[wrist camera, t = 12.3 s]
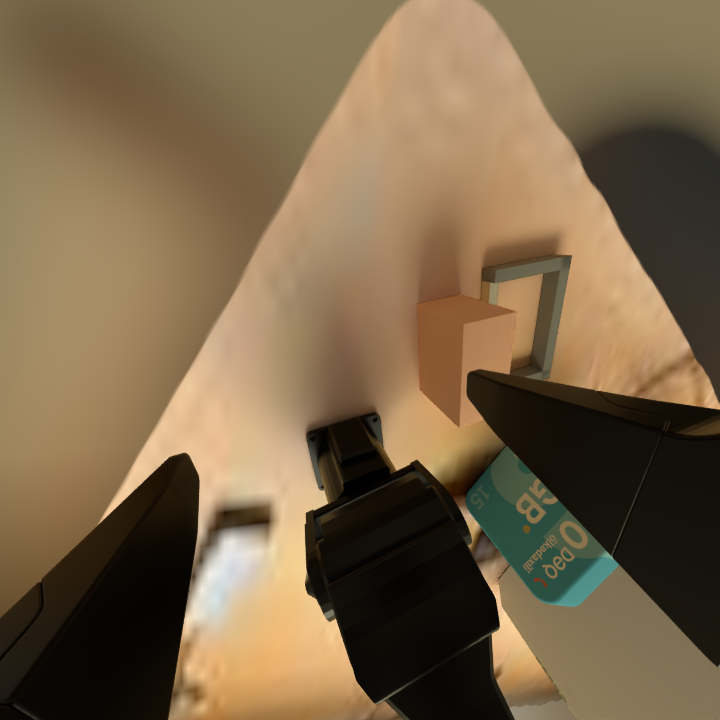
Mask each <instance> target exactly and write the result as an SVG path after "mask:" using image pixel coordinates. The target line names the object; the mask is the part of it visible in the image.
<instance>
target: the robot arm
mask: <svg viewBox="0 0 720 720" xmlns="http://www.w3.org/2000/svg"><path fill="white" fill-rule="evenodd" d="M466 394H467V397H468V399H469V400H470V402H471V403H472V404H473V406H474V407H475V408H476V410H477V411H478V412H479V413H480V415H481V416H482V417H483V419H484V420H485V421H486V422H487V424H488V425H489V426H490V428H491V429H492V430H493V431H494V432H495V434H496V435H497V436H498V437H499V438H500V439H501V440H502V441H503V442H504V443H505V444H506V445H507V446H508V447H509V449H510V450H511V451H512V452H513V453H514V454H515V455H516V456H517V457H518V458H519V459H520V460H521V461H522V462H523V463H524V464H525V465H526V467H527V468H528V469H529V470H530V471H531V472H532V473H533V474H534V475H535V476H536V477H537V478H538V479H539V480H540V481H541V482H542V483H543V485H544V486H545V487H546V488H547V489H548V490H549V491H550V492H551V493H552V494H553V495H554V496H555V497H556V498H557V499H558V500H559V501H560V503H561V504H562V505H563V506H564V507H565V508H566V509H567V510H568V511H569V512H570V513H571V514H572V515H573V516H574V517H575V518H576V519H577V521H578V522H579V523H580V524H581V525H582V526H583V527H584V528H585V529H586V530H587V531H588V532H589V533H590V534H591V535H592V536H593V538H594V539H595V540H596V541H597V542H598V543H599V544H600V545H601V546H602V547H603V548H604V549H605V550H606V551H607V552H608V553H609V554H610V555H611V556H612V558H613V559H614V560H615V561H616V562H617V563H618V564H619V565H620V566H621V567H622V568H623V570H624V571H625V572H626V573H627V574H628V575H629V576H630V577H631V578H632V579H633V580H634V581H635V582H636V583H637V584H638V585H639V587H640V588H641V589H642V590H643V591H644V592H645V593H646V594H647V595H648V596H649V597H650V598H651V599H652V600H653V601H654V602H655V603H656V605H657V606H658V607H659V608H660V609H661V610H662V611H663V612H664V613H665V614H666V615H667V616H668V617H669V618H670V619H671V620H672V622H673V623H674V624H675V625H676V626H677V627H678V628H679V629H680V630H681V631H682V632H683V633H684V634H685V635H686V636H687V637H688V638H689V640H690V641H691V642H692V643H693V644H694V645H695V646H696V647H697V648H698V649H699V650H700V651H701V652H702V653H703V654H704V655H705V656H706V657H707V658H708V659H709V660H710V661H711V662H712V663H713V664H714V665H715V666H716V667H718V668H719V667H720V410H719V409H711V408H704V407H698V406H691V405H684V404H677V403H670V402H663V401H656V400H650V399H643V398H637V397H631V396H625V395H619V394H613V393H608V392H602V391H595V390H591V389H586V388H580V387H575V386H570V385H564V384H559V383H553V382H548V381H542V380H537V379H531V378H526V377H521V376H515V375H510V374H504V373H499V372H493V371H488V370H483V369H477V370H474V371H470V372H469V373H468V374H467V387H466ZM375 417H376V419H374V420H373V418H375ZM312 436H315V437H314V438H310V437H312ZM306 439H307V443H308V448H309V452H310V456H311V460H312V464H313V468H314V472H315V476H316V480H317V484H318V488H319V490H322V491H323V490H325V494H326V497H327V501H328V504H327V505H325V506H323V507H321V508H318V509H316V510H311V511H309V512H307V513H306V524H305V546H306V569H307V574H306V580H305V587H306V591H307V593H308V595H310V596H312V597H313V598H315V599H317V602H318V604H319V605H320V607H321V609H322V612H323V614H324V616H325V617H326V619H327V620H328V621H329V622H331V621H333V620H334V619H336V620H337V623H338V626H339V629H340V633H341V636H342V639H343V642H344V645H345V648H346V651H347V654H348V657H349V660H350V663H351V665H352V668H353V671H354V674H355V678H356V681H357V682H358V684H359V685H360V686H361V688H362V689H363V690H364V691H365V693H366V694H367V695H368V696H369V698H370V699H371V700H372V701H373V702H374V703H375V704H377V705H378V704H379V703H381V702H383V701H385V702H386V703H387V704H389V705H390V706H391V707H392V708H393V709H394V710H395V711H396V712H397V713H398V714H399V715H400V716H401V717H402V718H403V719H404V720H515V719H514V717H513V715H512V713H511V711H510V709H509V707H508V705H507V703H506V700H505V698H504V696H503V694H502V692H501V690H500V688H499V686H498V683H497V681H496V679H495V677H494V668H493V651H492V633H494V632H495V631H497V630H499V628H500V622H499V616H498V610H497V603H496V599H495V596H494V594H493V593H492V591H491V589H490V587H489V586H488V584H487V582H486V580H485V579H484V577H483V575H482V573H481V571H480V569H479V567H478V565H477V563H476V561H475V559H474V557H473V555H472V553H471V551H470V549H469V547H468V545H470V544H471V543H472V538H471V534H470V531H469V528H468V526H467V523H466V521H465V519H464V517H463V515H462V513H461V511H460V509H459V507H458V506H457V504H456V502H455V501H454V499H453V498H452V496H451V495H450V493H449V492H448V491H447V490H446V488H445V487H444V486H443V485H442V484H441V483H440V482H439V481H438V480H437V479H436V478H435V477H434V476H433V475H432V474H431V473H430V472H429V471H428V470H427V469H426V468H425V467H424V466H423V465H422V464H421V463H420V462H419V461H418V460H415V461H413V462H411V463H410V465H408V466H406V467H404V468H402V469H400V470H398V471H397V470H396V469H395V467H394V465H393V464H392V462H391V460H390V459H389V457H388V455H387V454H386V452H385V450H384V448H383V438H382V429H381V419H380V416H379V415H378V414H377V413H370V414H367V415H364V416H360V417H356V418H353V419H349V420H346V421H343V422H339V423H336V424H332V425H330V426H326V427H323V428H320V429H316V430H313V431H310V432H308V433H307V435H306ZM199 485H200V481H199V475H198V473H197V471H196V469H195V466H194V464H193V462H192V460H191V458H190V456H189V455H188V454H187V453H182V454H178V455H174V456H171V457H169V458H168V459H167V460H166V461H165V462H164V463H163V464H162V465H161V466H160V467H159V468H158V469H156V470H155V471H154V472H153V473H152V474H151V475H150V476H149V477H148V478H147V479H146V480H145V481H144V482H143V483H142V484H141V485H140V486H139V487H138V488H137V489H135V490H134V491H133V492H132V493H131V494H130V495H129V496H128V497H127V498H126V499H125V500H124V501H123V502H122V503H121V504H120V505H119V506H118V507H117V508H116V509H114V510H113V511H112V512H111V513H110V514H109V515H108V516H107V517H106V518H105V519H104V520H103V521H102V522H101V523H100V524H99V525H98V526H97V527H96V528H95V529H93V531H92V532H90V533H89V534H88V535H87V536H86V537H85V538H84V539H83V540H82V541H81V542H80V543H79V544H78V545H77V546H76V547H75V548H74V549H72V550H71V551H70V552H69V553H68V555H66V556H65V557H64V558H63V559H62V560H61V561H60V562H59V563H58V564H57V565H56V566H55V567H54V568H53V569H51V570H50V571H49V572H48V573H47V574H46V575H45V576H44V577H43V579H42V580H41V582H38V583H37V584H36V585H35V586H34V587H32V589H30V590H29V591H28V592H27V593H26V594H25V595H24V596H23V597H22V598H21V599H20V600H19V601H18V602H17V603H16V604H15V605H14V606H12V607H11V609H9V610H8V611H7V612H6V613H5V614H4V615H3V616H2V617H1V618H0V720H168V718H169V712H170V706H171V699H172V693H173V687H174V680H175V674H176V668H177V662H178V655H179V649H180V643H181V636H182V630H183V624H184V618H185V611H186V605H187V599H188V592H189V586H190V580H191V574H192V567H193V561H194V555H195V548H196V542H197V533H198V512H199Z"/></svg>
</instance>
